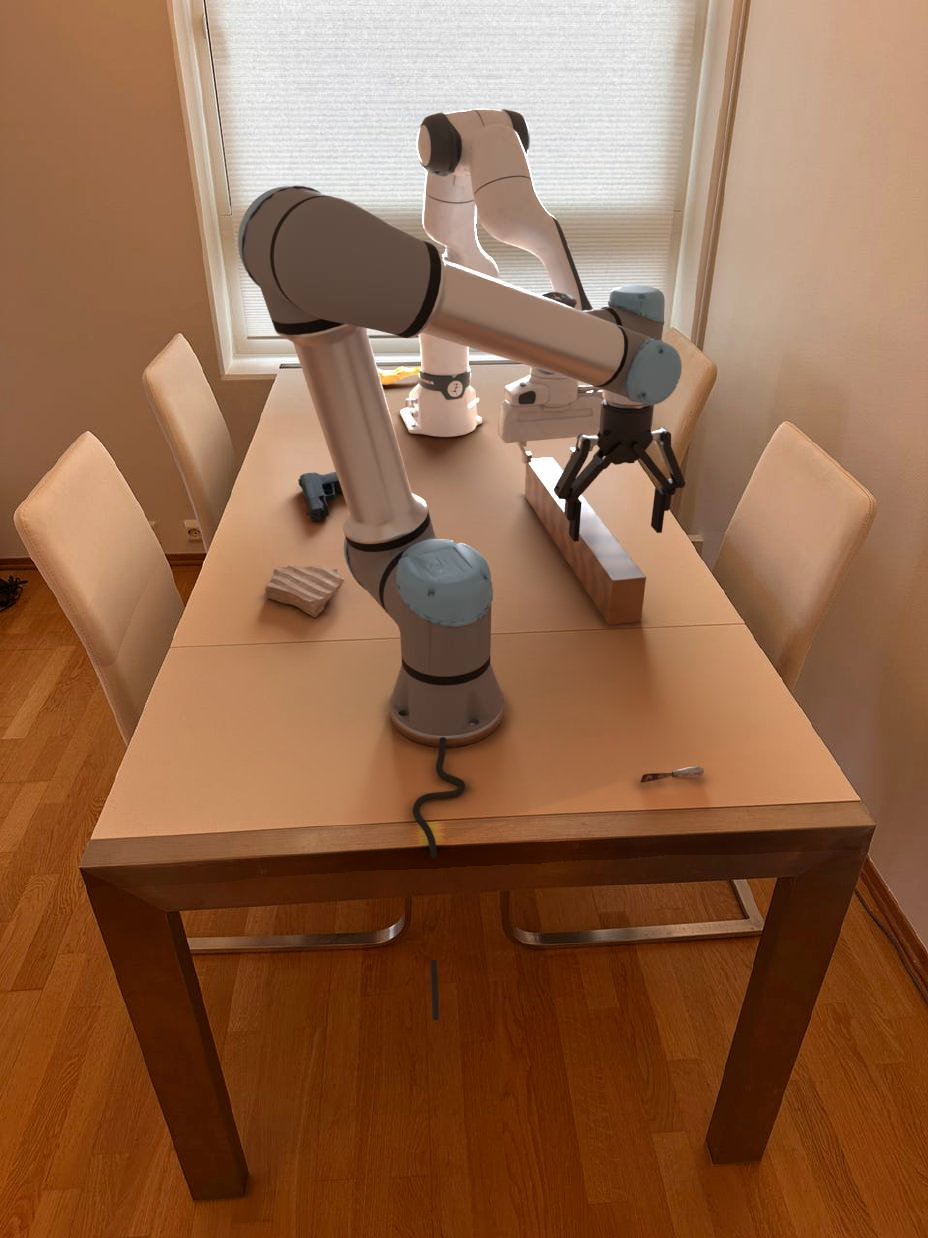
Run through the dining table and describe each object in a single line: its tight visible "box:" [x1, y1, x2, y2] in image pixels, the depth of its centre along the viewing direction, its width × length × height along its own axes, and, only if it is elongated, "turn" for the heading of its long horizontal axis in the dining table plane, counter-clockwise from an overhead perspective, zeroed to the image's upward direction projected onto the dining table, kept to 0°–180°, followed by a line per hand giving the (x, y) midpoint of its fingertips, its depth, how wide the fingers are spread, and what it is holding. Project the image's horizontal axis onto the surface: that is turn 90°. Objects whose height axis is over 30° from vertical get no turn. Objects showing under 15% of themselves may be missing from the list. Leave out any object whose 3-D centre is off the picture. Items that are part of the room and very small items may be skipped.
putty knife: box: [640, 765, 705, 784], centre depth 109 cm, size 1×8×2 cm, turn 103°
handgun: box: [298, 471, 343, 522], centre depth 178 cm, size 3×18×12 cm
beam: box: [524, 457, 647, 626], centre depth 159 cm, size 50×5×8 cm, turn 12°
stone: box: [264, 565, 345, 618], centre depth 147 cm, size 13×12×3 cm
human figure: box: [377, 366, 421, 386], centre depth 243 cm, size 20×20×4 cm
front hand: (615, 533), depth 139 cm, fingers open, 13 cm apart
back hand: (550, 460), depth 170 cm, fingers open, 8 cm apart
